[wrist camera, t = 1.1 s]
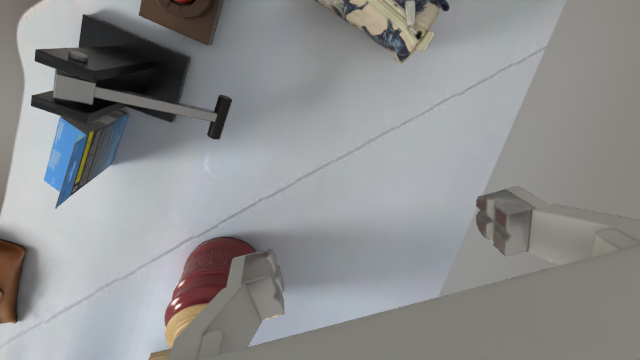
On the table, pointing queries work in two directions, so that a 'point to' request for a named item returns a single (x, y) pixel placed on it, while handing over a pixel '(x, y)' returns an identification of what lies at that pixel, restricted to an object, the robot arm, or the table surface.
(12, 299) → the sunglasses case
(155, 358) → the banker's lamp
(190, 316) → the kitchen canister
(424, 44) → the pencil case
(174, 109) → the lever
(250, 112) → the table surface
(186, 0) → the button
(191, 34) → the control block
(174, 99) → the bracket
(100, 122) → the tape cartridge
